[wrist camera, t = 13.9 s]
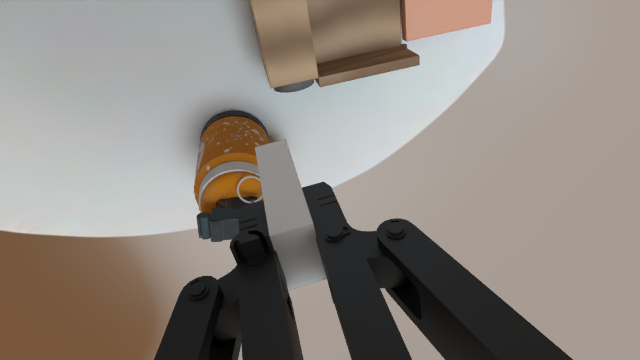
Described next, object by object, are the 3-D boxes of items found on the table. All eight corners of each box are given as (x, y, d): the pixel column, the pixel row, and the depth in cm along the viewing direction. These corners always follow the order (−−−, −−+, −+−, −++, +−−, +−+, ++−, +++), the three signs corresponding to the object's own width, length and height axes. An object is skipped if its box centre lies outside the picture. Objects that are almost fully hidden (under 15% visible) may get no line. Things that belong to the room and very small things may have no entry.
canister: (197, 110, 50) (182, 194, 33) (284, 108, 52) (312, 186, 35) (203, 171, 54) (193, 273, 37) (283, 168, 56) (308, 262, 39)
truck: (233, -65, 41) (235, -68, 33) (383, -93, 42) (422, -102, 34) (268, 83, 50) (276, 111, 41) (392, 56, 51) (424, 78, 43)
